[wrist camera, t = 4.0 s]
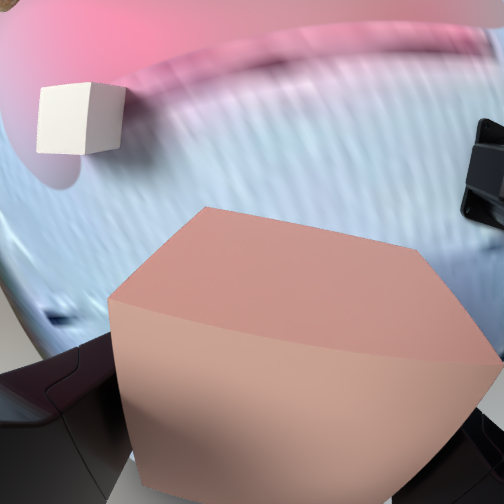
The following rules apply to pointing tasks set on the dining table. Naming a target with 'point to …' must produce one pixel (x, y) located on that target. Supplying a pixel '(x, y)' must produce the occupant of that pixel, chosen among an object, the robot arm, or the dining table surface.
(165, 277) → the coral block
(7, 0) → the sprinkles bottle
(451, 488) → the robot arm
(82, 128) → the cap block
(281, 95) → the dining table surface
